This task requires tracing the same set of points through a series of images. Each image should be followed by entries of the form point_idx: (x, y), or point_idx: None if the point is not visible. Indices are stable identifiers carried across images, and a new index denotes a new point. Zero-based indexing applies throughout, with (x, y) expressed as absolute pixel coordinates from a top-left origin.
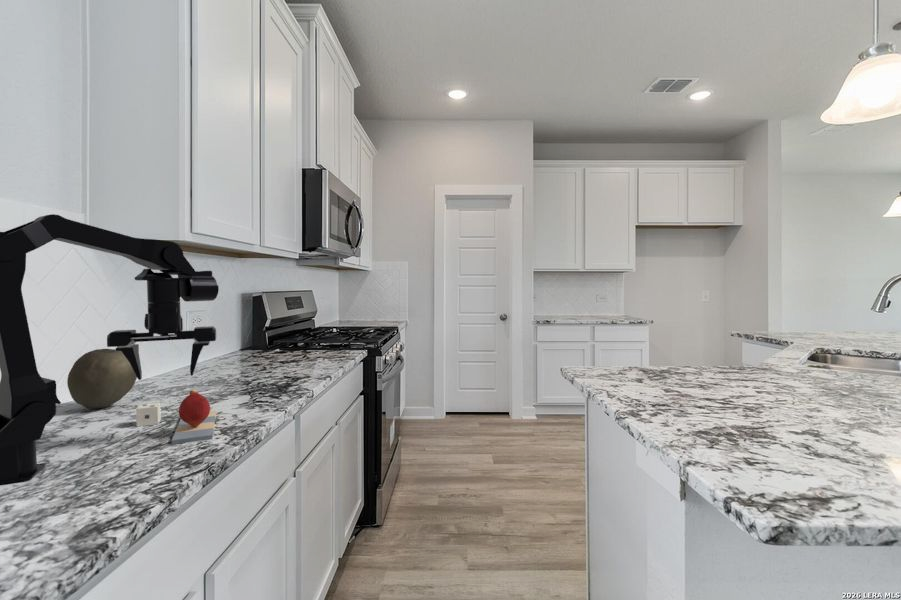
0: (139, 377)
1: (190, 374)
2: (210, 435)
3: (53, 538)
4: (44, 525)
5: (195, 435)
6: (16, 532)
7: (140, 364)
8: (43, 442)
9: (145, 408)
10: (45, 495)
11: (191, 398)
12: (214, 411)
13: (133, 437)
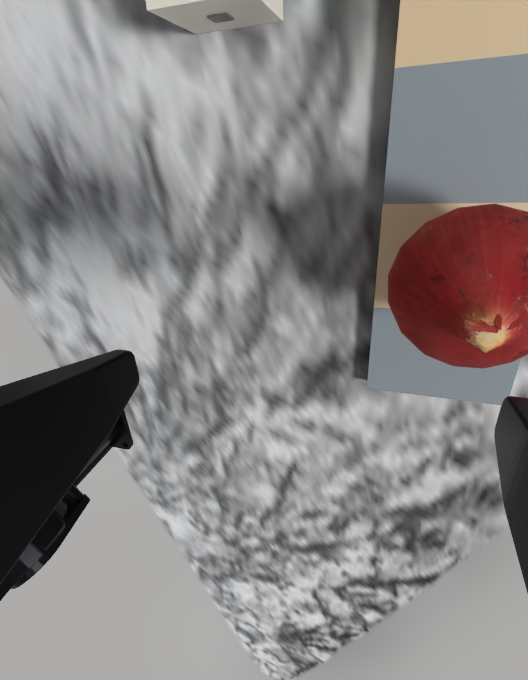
0: (126, 397)
1: (495, 441)
2: (500, 404)
3: (258, 625)
4: (235, 595)
5: (446, 379)
6: (213, 591)
7: (35, 400)
8: None
9: (192, 4)
10: (192, 516)
11: (462, 357)
12: None
13: (232, 230)
